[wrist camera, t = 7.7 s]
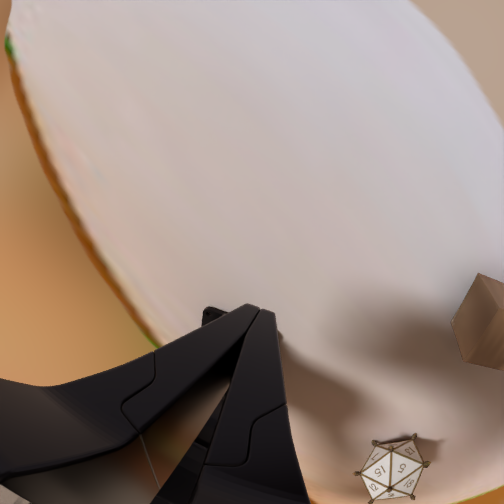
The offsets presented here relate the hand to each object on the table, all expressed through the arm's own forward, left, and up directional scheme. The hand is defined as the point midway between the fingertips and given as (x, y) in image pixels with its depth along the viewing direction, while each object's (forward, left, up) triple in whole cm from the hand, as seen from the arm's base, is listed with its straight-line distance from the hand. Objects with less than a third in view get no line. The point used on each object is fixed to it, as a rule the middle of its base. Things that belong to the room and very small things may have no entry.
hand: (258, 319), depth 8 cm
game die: (-23, -18, -12) cm, 32 cm away
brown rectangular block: (-3, -13, -10) cm, 17 cm away
